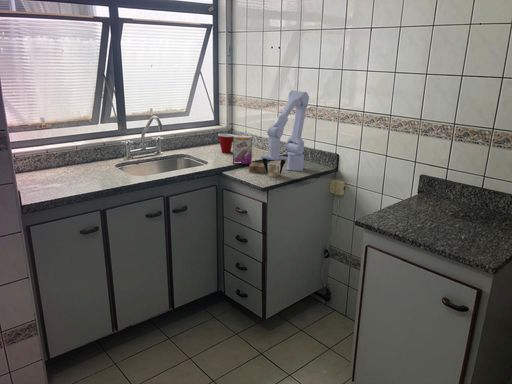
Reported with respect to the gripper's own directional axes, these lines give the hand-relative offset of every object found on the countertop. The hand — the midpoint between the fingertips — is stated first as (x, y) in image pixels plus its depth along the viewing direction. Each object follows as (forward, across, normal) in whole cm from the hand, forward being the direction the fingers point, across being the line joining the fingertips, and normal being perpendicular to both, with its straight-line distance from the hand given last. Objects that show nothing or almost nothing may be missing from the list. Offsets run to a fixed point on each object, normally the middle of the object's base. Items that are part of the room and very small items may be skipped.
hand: (273, 172), depth 228 cm
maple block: (+2, 0, 0) cm, 2 cm away
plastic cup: (+2, -36, +43) cm, 56 cm away
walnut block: (+2, -10, +7) cm, 12 cm away
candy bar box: (+2, -21, +20) cm, 29 cm away
